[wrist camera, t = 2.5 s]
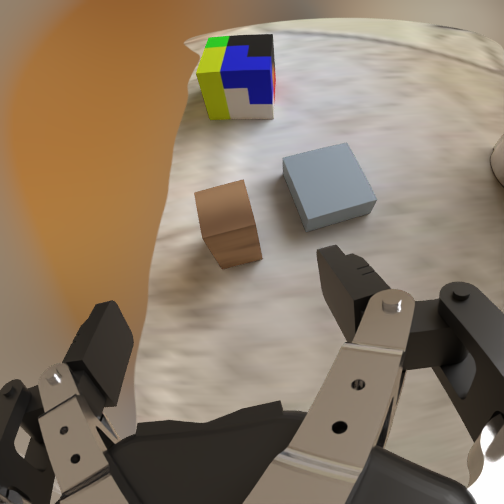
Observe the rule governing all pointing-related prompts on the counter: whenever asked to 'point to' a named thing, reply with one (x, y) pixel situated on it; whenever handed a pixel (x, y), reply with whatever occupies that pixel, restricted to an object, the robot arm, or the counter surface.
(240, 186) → the walnut block
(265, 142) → the counter surface
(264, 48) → the puzzle toy
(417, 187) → the counter surface
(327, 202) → the slate plinth
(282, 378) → the counter surface
